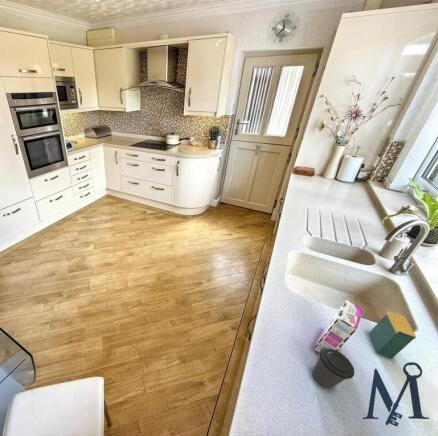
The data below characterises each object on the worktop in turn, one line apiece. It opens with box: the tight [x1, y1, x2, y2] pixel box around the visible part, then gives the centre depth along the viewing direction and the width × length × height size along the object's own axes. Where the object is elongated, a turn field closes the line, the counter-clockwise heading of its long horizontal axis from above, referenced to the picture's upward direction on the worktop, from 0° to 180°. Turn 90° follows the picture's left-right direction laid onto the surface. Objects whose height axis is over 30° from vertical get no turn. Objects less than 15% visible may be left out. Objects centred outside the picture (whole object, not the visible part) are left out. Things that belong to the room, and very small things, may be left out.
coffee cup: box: [311, 348, 355, 390], centre depth 66 cm, size 8×8×10 cm
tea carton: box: [368, 310, 417, 360], centre depth 76 cm, size 12×4×8 cm
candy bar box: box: [312, 299, 365, 355], centre depth 74 cm, size 11×5×16 cm, turn 131°
